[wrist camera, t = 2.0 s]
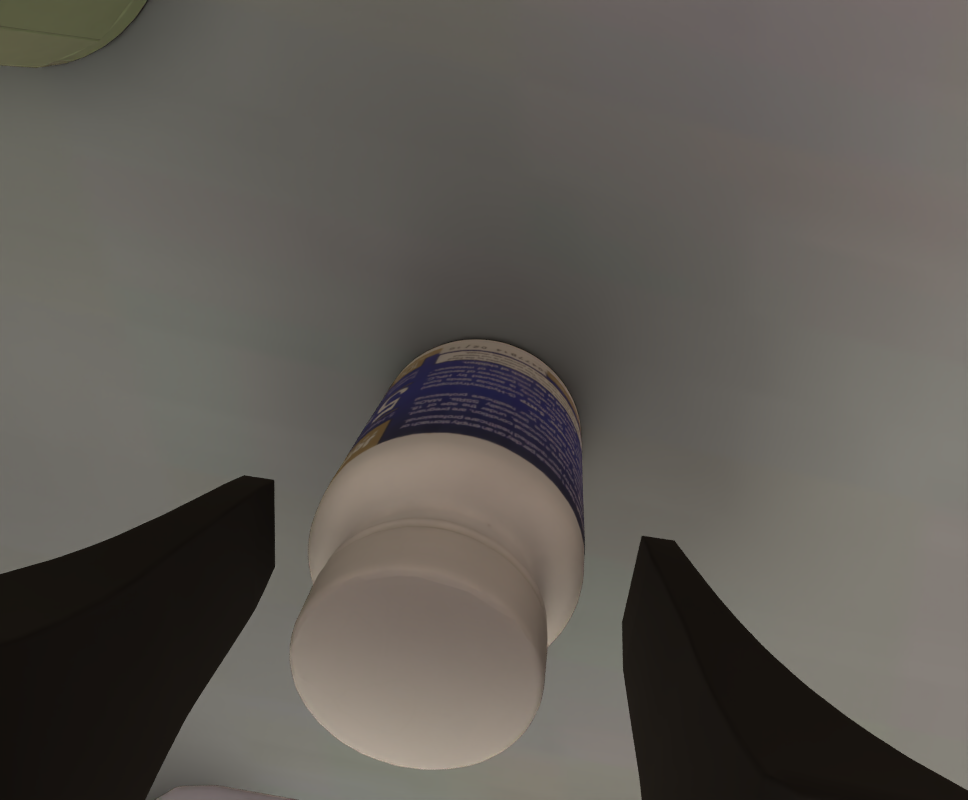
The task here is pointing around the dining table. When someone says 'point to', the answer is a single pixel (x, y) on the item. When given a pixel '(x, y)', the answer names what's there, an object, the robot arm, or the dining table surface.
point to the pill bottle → (445, 560)
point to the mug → (60, 29)
